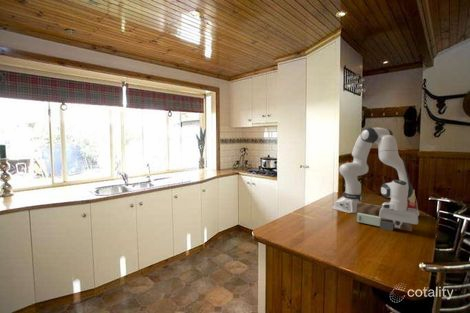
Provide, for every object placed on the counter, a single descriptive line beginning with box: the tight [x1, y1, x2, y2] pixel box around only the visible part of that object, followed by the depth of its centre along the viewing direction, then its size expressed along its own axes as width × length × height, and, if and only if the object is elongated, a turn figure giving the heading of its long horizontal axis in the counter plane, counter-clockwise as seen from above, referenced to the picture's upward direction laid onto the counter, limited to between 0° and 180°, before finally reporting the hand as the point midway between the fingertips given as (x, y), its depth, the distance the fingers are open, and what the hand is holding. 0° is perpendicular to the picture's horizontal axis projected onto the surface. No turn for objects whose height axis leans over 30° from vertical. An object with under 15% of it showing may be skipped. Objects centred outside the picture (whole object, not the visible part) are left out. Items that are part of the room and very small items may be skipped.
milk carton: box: [407, 189, 419, 211], centre depth 176 cm, size 9×9×20 cm
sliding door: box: [356, 213, 382, 227], centre depth 160 cm, size 14×4×6 cm, turn 49°
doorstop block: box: [379, 218, 394, 232], centre depth 153 cm, size 7×5×5 cm
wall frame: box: [355, 202, 413, 232], centre depth 160 cm, size 32×2×12 cm, turn 49°
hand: (397, 227), depth 150 cm, fingers closed
